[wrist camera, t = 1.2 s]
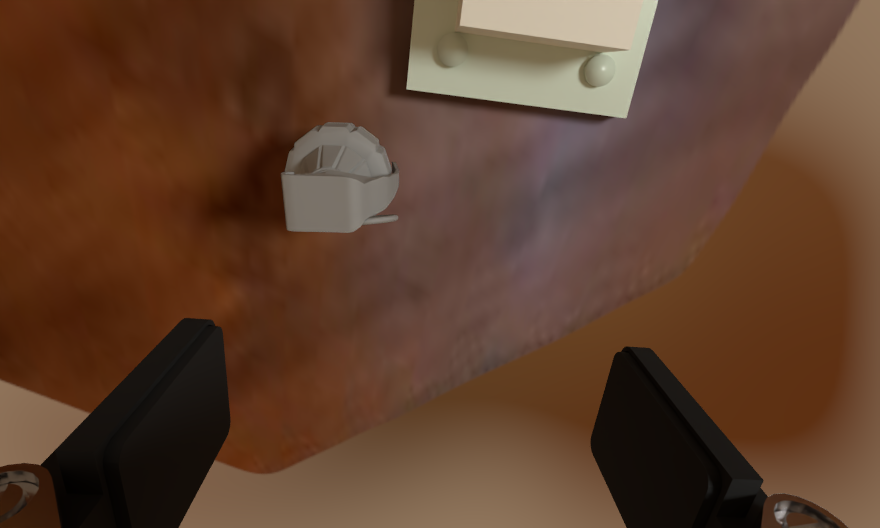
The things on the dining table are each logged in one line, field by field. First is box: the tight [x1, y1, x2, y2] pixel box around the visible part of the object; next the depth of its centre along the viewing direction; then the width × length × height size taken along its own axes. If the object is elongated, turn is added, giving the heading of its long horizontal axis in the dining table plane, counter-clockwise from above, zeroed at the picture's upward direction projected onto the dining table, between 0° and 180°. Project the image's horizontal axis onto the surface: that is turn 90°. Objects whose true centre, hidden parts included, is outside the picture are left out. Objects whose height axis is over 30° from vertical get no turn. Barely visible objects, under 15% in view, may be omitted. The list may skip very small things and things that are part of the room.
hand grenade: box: [281, 122, 399, 233], centre depth 26 cm, size 6×6×11 cm
